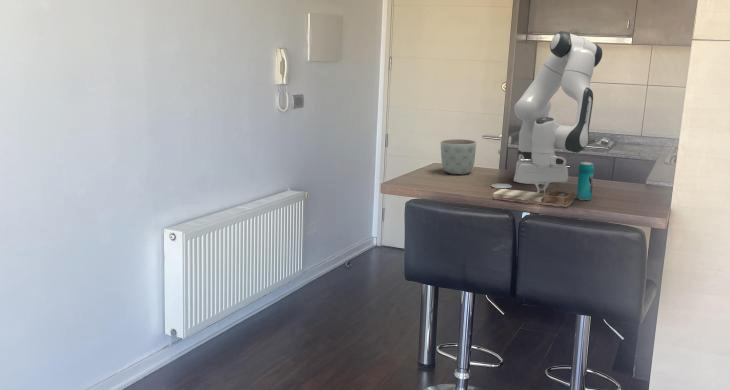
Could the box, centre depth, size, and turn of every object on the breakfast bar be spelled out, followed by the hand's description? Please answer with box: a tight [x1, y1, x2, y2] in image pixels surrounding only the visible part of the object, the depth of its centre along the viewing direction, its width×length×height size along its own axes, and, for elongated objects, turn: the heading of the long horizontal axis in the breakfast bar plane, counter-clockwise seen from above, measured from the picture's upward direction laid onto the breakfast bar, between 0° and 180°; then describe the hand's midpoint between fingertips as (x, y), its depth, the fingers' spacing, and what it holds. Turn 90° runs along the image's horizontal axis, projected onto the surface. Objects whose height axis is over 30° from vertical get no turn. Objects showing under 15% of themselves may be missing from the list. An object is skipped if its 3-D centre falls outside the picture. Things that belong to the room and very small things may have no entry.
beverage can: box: [576, 161, 595, 201], centre depth 289 cm, size 6×6×15 cm
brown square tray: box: [541, 189, 574, 205], centre depth 284 cm, size 10×10×4 cm
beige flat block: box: [492, 188, 549, 202], centre depth 291 cm, size 20×10×2 cm, turn 60°
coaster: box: [490, 183, 513, 189], centre depth 315 cm, size 9×9×1 cm
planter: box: [440, 138, 477, 175], centre depth 344 cm, size 17×17×15 cm
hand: (541, 193), depth 287 cm, fingers closed
